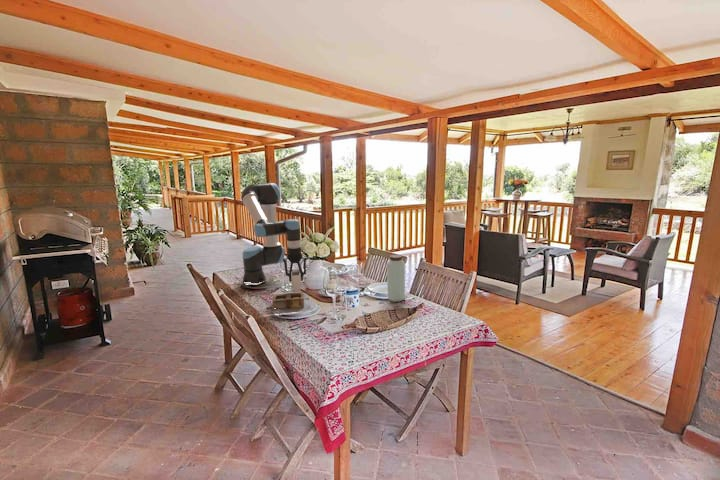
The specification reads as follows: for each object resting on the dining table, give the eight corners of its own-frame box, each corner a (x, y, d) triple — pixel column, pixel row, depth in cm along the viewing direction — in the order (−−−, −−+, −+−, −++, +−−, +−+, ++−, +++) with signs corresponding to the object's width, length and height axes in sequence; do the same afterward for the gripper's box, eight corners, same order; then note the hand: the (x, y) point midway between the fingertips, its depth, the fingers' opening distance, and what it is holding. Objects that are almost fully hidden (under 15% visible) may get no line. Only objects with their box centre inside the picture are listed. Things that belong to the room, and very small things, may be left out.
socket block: (274, 304, 197) (274, 294, 196) (304, 302, 199) (303, 291, 198) (273, 312, 187) (272, 301, 186) (304, 309, 190) (303, 298, 188)
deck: (289, 296, 209) (289, 294, 209) (306, 295, 210) (306, 293, 210) (288, 302, 199) (288, 301, 199) (306, 301, 201) (306, 299, 200)
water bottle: (384, 301, 198) (384, 257, 192) (390, 294, 207) (389, 253, 201) (402, 303, 194) (402, 259, 188) (407, 296, 203) (406, 254, 198)
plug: (293, 289, 206) (292, 270, 203) (300, 289, 206) (299, 269, 204) (293, 292, 202) (292, 272, 199) (300, 291, 203) (299, 271, 200)
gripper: (278, 249, 193) (281, 289, 199) (309, 247, 196) (311, 287, 201) (279, 246, 201) (281, 285, 206) (309, 244, 203) (311, 283, 208)
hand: (296, 286), depth 204 cm, fingers closed on plug, 4 cm apart
